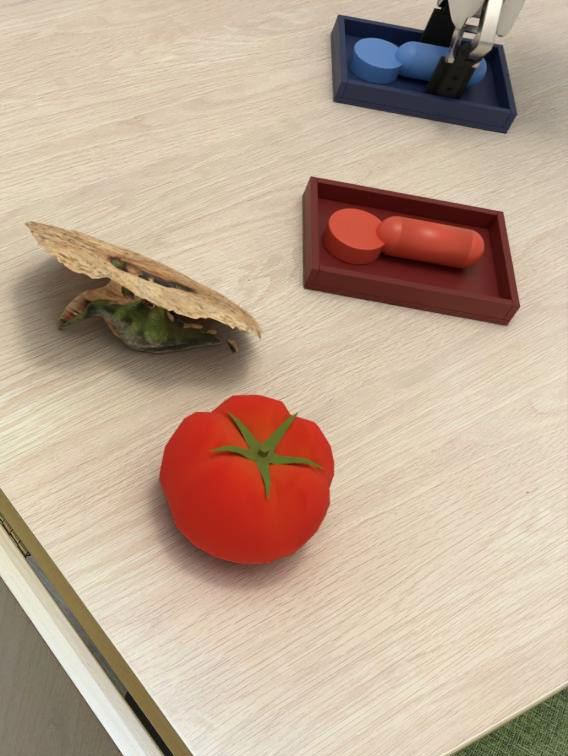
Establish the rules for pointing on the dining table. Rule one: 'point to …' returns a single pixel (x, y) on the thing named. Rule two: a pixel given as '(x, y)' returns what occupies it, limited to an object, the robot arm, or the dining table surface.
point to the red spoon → (399, 240)
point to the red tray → (405, 276)
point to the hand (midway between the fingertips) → (436, 75)
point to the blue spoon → (400, 61)
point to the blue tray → (420, 81)
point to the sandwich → (140, 295)
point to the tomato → (248, 479)
